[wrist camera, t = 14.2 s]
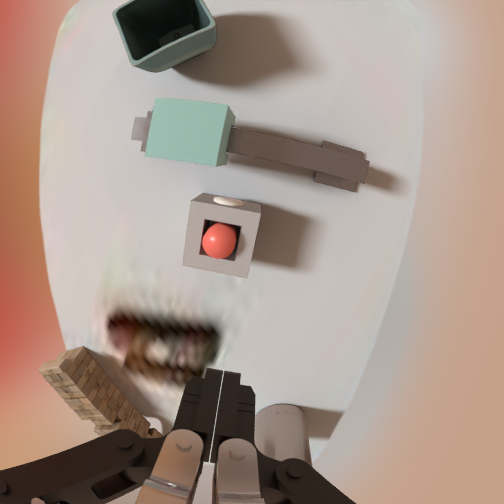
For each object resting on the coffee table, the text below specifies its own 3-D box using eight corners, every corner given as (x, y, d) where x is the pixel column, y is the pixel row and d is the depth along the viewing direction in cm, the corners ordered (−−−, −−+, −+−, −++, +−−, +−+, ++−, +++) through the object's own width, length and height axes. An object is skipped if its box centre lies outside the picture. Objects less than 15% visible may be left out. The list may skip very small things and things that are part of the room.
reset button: (235, 247, 33) (231, 261, 28) (207, 242, 32) (200, 255, 28) (240, 220, 32) (237, 230, 27) (212, 215, 31) (204, 224, 27)
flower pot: (202, 7, 25) (187, -28, 17) (228, 56, 28) (217, 25, 19) (140, 37, 27) (110, 11, 18) (161, 86, 29) (131, 67, 21)
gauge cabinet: (249, 258, 36) (247, 278, 30) (194, 247, 35) (182, 265, 30) (261, 201, 33) (261, 210, 28) (203, 190, 33) (191, 197, 27)
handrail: (352, 191, 33) (369, 198, 27) (142, 151, 32) (120, 151, 26) (361, 152, 31) (380, 152, 25) (149, 111, 30) (129, 104, 24)
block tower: (167, 435, 51) (80, 338, 42) (160, 465, 43) (58, 367, 34) (141, 437, 52) (57, 345, 43) (132, 465, 44) (36, 372, 35)
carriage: (226, 164, 28) (215, 166, 21) (170, 155, 28) (144, 156, 21) (235, 117, 26) (228, 105, 20) (178, 110, 26) (155, 97, 20)
